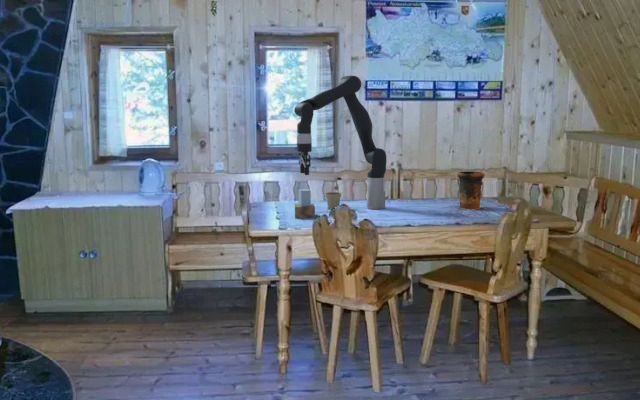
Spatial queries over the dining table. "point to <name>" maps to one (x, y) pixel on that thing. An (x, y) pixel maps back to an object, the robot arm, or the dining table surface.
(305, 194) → the light grey block
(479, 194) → the vessel
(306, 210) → the walnut box
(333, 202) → the flower pot
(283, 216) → the dining table surface
